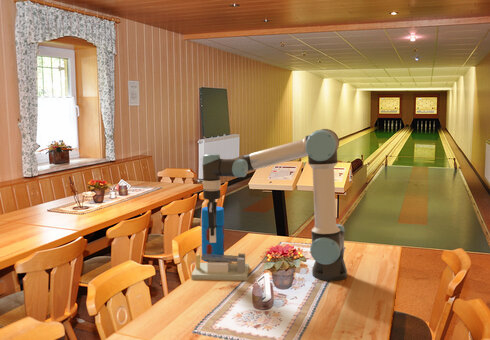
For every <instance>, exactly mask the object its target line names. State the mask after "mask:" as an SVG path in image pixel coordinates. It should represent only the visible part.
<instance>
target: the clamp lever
mask: <svg viewBox="0 0 490 340" xmlns="http://www.w3.org/2000/svg"><path fill="white" fill-rule="evenodd" d="M238 258H244V256H242V255H241V256H238V255H229V254H228V255H227V254H224V255H216V254H202V253H201V255H200V261H203V260H214V261H230V263H233V262H234V263H237V259H238Z"/></svg>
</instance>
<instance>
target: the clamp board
mask: <svg viewBox="0 0 490 340" xmlns="http://www.w3.org/2000/svg"><path fill="white" fill-rule="evenodd" d="M241 255H242V256H244V258H238V259H237V262H234V263H233V262H230V261H214V260H209V261H208V262H201V254H200V253H196V254H195V266H194V269H193V271H192V272H191V275H190V278H191V280H208V281H209V280H212V281H213V280H215V281H216V280H218V281H248V278H249V277H248V276H249V269H250V264H249V263H246V253H238V255H237V256H241Z"/></svg>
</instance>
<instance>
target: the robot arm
mask: <svg viewBox="0 0 490 340" xmlns="http://www.w3.org/2000/svg"><path fill="white" fill-rule="evenodd" d="M339 146H340V139H339V136H338V135H337V133H336V132H335V131H334V130H331V129H328V128H322V129H318V130H315V131H313V132H312V133H311V134H307V135H305V137H304V138H303V139H302V138H301V139H299V140H295V141H292V142H288V143H284V144H280V145H278V146H277V145H276V146H273V147H270V148H266V149H261V150H259V151H255V152H250V153H247V154H243V155H239V156H238V157H235V158H221V155H220V154H218V153H207V154H206V153H205V154H203V156H202V165H201V166H202V182H201V185H202V188H203V190H202V194H203V199H204V200H208V202H207V203H206V207H208V209H207V210H208V222H209V227H208V228H209V236H210V243H216V227H217V225H216V211H217V206H218V201H216V200H218V199H221V177H228V178H229V177H231V178H245V177H246V176H247V174H248V172H252V171H256V170H259V169H262V168H266V167H267V168H268V167H270V166H275V165H278V164H282V163H286V162H290V161H294V160H298V159H301V158H306V157H307V158H308V159H307V160H308V161H307V163H308V165H309V166H310V167H311V169H312V170H311V171H312V191H313V210H314V211H313V212H314V226H313V228H311V245H310V247H309V248H310V255H311V257H312V259H314V263H313V267H312V270H311V274H312V276H313V277H314V278H317V279H319V280H322V281H330V282H335V281H342V280H345V279H346V278H347V277H348V270H347V267H346V263H345V259H344V253H345V252H344V251H345V250H344V249H345V233H346V232H345V226H344V225H342V224H341V223H340V224H338V223H337V213H336V188H335V185H336V184H335V166H337V164H338V161H339V160H338V149H339Z"/></svg>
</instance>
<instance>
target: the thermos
mask: <svg viewBox="0 0 490 340" xmlns="http://www.w3.org/2000/svg"><path fill="white" fill-rule="evenodd" d="M207 209H208V207H207V206H204V207H202V208H201V255H202V254H216V255H225V209H224V207H222V206H218V205H217V211H216V225H217V227H216V243H210V236H209V228H208V227H209V222H208V210H207ZM202 261H204V262H205V263H208V261H209V260H202Z"/></svg>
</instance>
